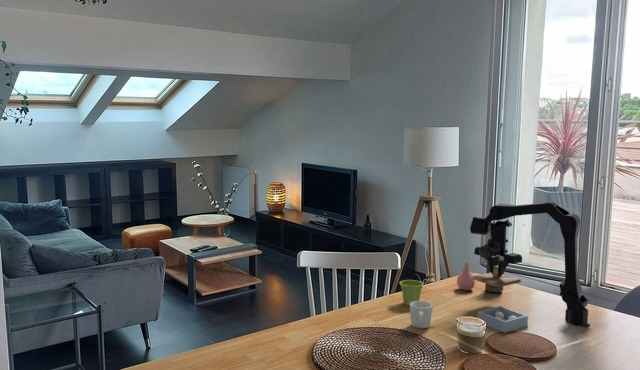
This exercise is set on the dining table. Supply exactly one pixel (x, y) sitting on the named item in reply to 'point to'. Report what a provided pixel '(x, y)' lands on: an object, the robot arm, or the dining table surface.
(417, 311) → the cup
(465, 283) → the pink teardrop shape
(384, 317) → the dining table surface
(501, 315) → the ball sage
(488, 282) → the lid
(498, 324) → the box
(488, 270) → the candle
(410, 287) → the plant pot
